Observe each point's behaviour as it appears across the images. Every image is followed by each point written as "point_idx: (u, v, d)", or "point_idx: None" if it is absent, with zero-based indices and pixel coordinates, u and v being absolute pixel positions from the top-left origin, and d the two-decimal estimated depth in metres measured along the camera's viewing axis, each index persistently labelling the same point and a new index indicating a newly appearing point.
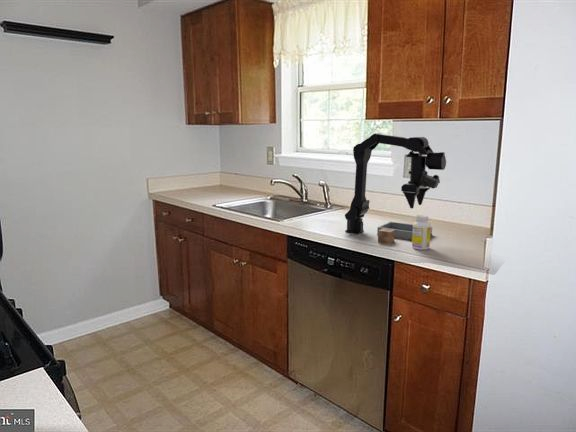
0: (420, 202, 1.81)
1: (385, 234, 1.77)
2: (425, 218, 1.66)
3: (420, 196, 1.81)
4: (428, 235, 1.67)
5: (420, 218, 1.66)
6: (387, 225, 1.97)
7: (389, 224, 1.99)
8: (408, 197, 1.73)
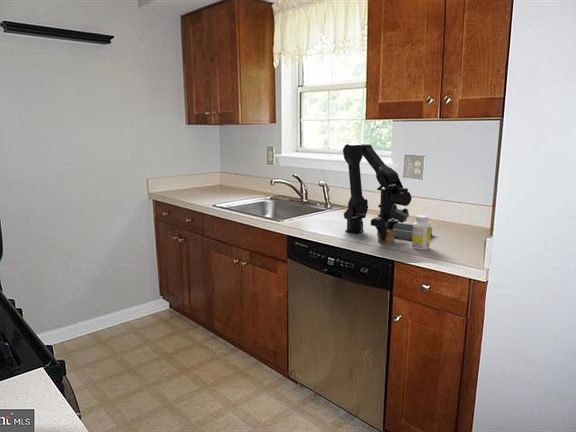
0: None
1: None
2: (425, 218, 1.66)
3: None
4: (428, 235, 1.67)
5: (420, 218, 1.66)
6: None
7: None
8: (379, 230, 1.76)
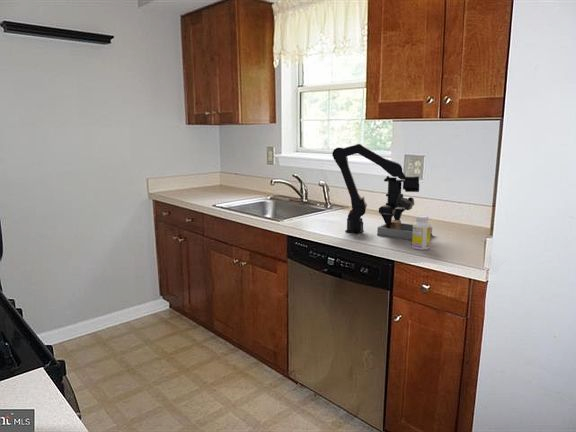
0: None
1: (392, 225, 1.91)
2: (425, 218, 1.66)
3: (397, 216, 1.96)
4: (428, 235, 1.67)
5: (420, 218, 1.66)
6: None
7: None
8: (385, 218, 1.88)
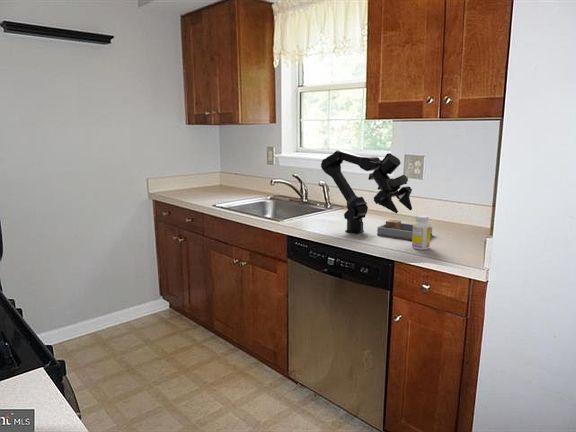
0: (410, 207, 1.77)
1: (392, 225, 1.91)
2: (425, 218, 1.66)
3: (406, 202, 1.78)
4: (428, 235, 1.67)
5: (420, 218, 1.66)
6: None
7: None
8: (387, 205, 1.73)
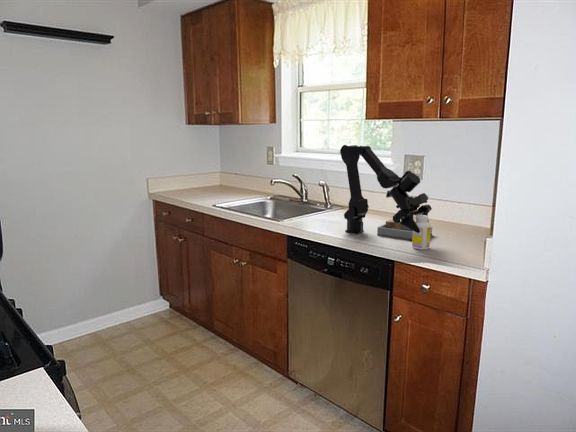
0: None
1: (392, 225, 1.91)
2: (425, 218, 1.66)
3: None
4: (428, 235, 1.67)
5: (420, 218, 1.66)
6: None
7: None
8: (408, 225, 1.67)
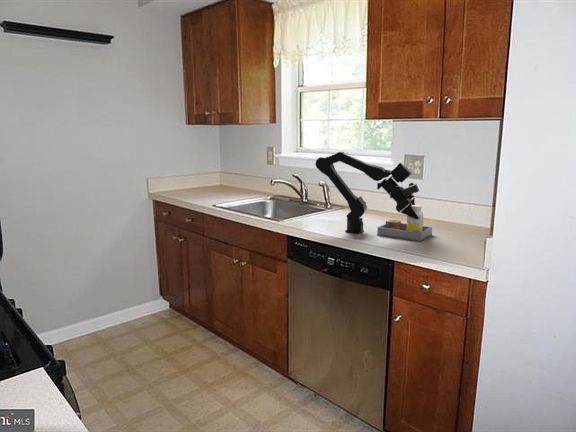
0: None
1: (392, 225, 1.91)
2: (420, 207, 1.84)
3: None
4: (422, 222, 1.86)
5: (417, 208, 1.83)
6: None
7: None
8: (408, 213, 1.81)
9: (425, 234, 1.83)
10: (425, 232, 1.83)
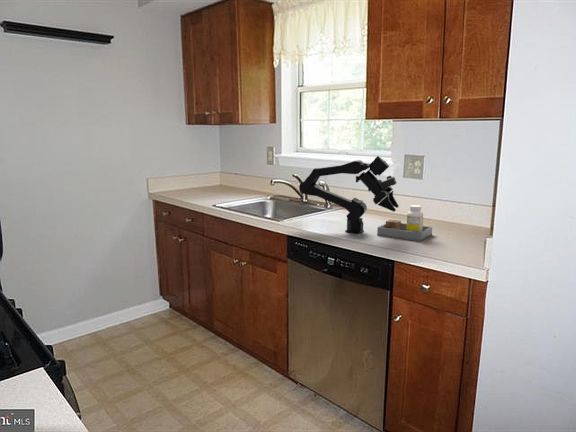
0: (396, 205, 1.92)
1: (392, 225, 1.91)
2: (420, 207, 1.84)
3: (392, 201, 1.93)
4: (422, 222, 1.86)
5: (416, 208, 1.83)
6: None
7: None
8: (385, 205, 1.84)
9: (425, 234, 1.83)
10: (425, 232, 1.83)
